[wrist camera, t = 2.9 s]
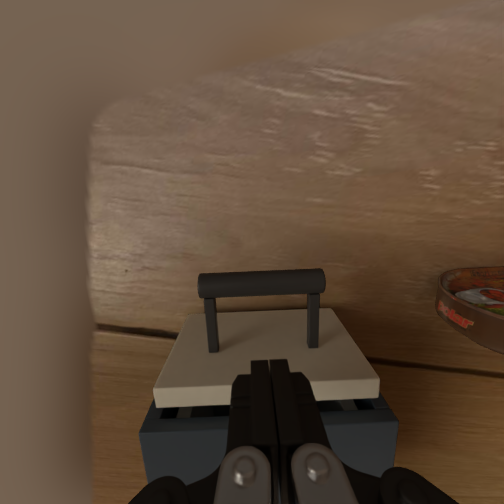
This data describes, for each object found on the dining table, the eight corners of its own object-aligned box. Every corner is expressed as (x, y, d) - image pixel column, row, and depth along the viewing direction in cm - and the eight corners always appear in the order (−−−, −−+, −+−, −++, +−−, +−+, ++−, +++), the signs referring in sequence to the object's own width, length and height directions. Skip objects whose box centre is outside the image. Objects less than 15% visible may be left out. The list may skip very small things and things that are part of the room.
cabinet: (185, 327, 21) (137, 433, 12) (334, 320, 22) (399, 421, 12) (200, 460, 25) (173, 620, 16) (328, 454, 25) (375, 611, 16)
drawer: (181, 254, 19) (137, 297, 11) (333, 247, 19) (389, 286, 12) (202, 446, 24) (181, 569, 16) (326, 440, 24) (362, 560, 16)
